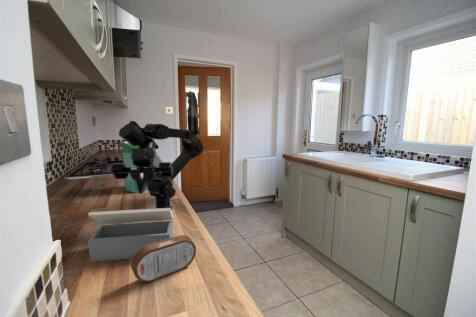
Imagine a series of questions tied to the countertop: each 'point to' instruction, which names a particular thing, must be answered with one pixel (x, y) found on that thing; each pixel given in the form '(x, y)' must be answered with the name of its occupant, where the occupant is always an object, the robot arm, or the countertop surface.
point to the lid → (132, 215)
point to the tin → (163, 258)
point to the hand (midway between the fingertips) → (140, 193)
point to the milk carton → (129, 182)
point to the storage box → (126, 239)
